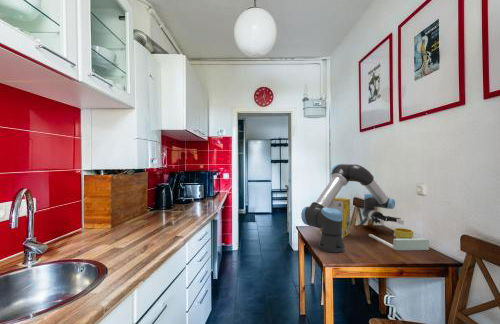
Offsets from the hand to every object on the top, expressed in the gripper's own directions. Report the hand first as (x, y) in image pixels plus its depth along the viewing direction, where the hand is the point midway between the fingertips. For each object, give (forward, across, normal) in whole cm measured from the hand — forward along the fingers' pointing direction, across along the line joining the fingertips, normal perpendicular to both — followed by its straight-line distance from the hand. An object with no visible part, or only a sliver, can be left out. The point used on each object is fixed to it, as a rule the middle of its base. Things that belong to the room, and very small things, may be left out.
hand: (393, 222), depth 177 cm
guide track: (+3, 0, -12) cm, 12 cm away
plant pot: (+11, 0, -12) cm, 16 cm away
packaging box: (-18, +32, -12) cm, 39 cm away
